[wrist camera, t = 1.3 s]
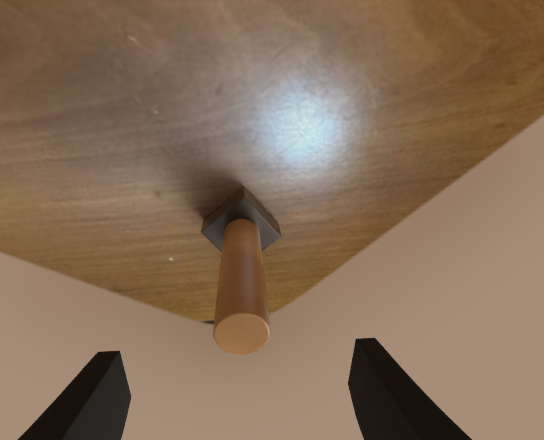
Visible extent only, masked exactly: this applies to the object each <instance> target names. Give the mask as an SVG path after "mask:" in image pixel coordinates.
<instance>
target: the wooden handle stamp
mask: <svg viewBox="0 0 544 440" xmlns="http://www.w3.org/2000/svg"><path fill="white" fill-rule="evenodd" d="M201 233H202V234H203V235H204V236H205V237H206V238H207V239H209V240H210V241H211V242H212V243H213V244H214V245H215V246H216V247H217V248H218V249H219V250H220V251H221V252H222V253H221V262H220V272H219V282H218V291H217V301H216V310H215V320H214V330H213V336H214V340H215V342H216V343H217V345H218V346H219V347H220V348H221V349H223V350H224V351H227V352H229V353H232V354H240V355H241V354H249V353H252V352H255V351H257V350H259V349H260V348H262V347H263V346H264V345H265V344H266V343H267V341H268V339H269V336H270V324H269V314H268V305H267V296H266V287H265V277H264V268H263V259H262V251H263V250H264V249H266V248H267V247H268V246H270V245H271V244H272V243H274V242H275V241H276V240H278V239H279V238H280V237H281V232H280V228H279V224H278V223H277V222H276V221H275V220H274V218H273V217H272V216H271V215H270V214H269V213H268V212H267V211H266V210H265V209H264V208H263V206H262V205H261V204H260V203H259V202H258V201H257V200H256V199H255V198H254V197H253V196H252V194H251V193H250V192H249V191H248V190H247V189H246V188H245V187H243V188H242V189H241V190H240V191H238V192H237V193H236V194H235V195H234V196H232V197H231V198H230V199H229V200H227V201H226V202H225V203H224V204H222V205H221V206H220V207H219V208H217V209H216V210H215V211H214V212H213V213H211V214H210V215H209V216H208V217H206V218H205V219H204V221H203V225H202V229H201Z"/></svg>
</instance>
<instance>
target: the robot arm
mask: <svg viewBox="0 0 544 440" xmlns="http://www.w3.org/2000/svg"><path fill="white" fill-rule="evenodd" d="M348 385H349V390H350V394H351V398H352V403H353V406H354V410H355V414H356V418H357V421H358V424H359V427H360V430H361V432H362V435H363V438H364V440H472V439H471V438H470V437H469V436H468V435H466V434H465V433H464V432H463V431H462V430H461V429H460V428H459V427H458V426H457V425H456V424H455V423H454V422H453V421H452V420H451V419H450V418H449V417H448V416H447V415H446V414H445V413H444V412H443V411H442V410H441V409H440V408H439V407H438V406H437V405H436V404H435V403H434V402H433V401H432V400H431V399H430V398H429V397H428V396H427V395H426V394H425V393H424V392H423V391H422V390H421V388H420V387H419V386H418V385H417V384H416V383H415V382H414V381H413V380H412V379H411V378H410V377H409V376H408V375H407V373H406V372H405V371H404V370H403V369H402V368H401V367H400V366H399V365H398V363H397V362H396V361H395V360H394V359H393V358H392V357H391V355H390V354H389V353H388V352H387V351H386V350H385V349H384V347H383V346H382V345H381V344H380V343H379V342H378V341H377V340H376V339H375V338H363V339H356V341H355V347H354V353H353V358H352V364H351V370H350V376H349V381H348ZM130 400H131V394H130V390H129V386H128V382H127V378H126V374H125V370H124V366H123V363H122V358H121V354H120V351H106V352H98V353H97V354H96V355H95V356H94V357H93V358H92V359H91V360H90V362H89V363H88V364H87V365H86V366H85V367H84V368H83V369H82V371H81V372H80V373H79V374H78V375H77V376H76V377H75V378H74V380H73V381H72V382H71V383H70V384H69V385H68V386H67V387H66V388H65V390H64V391H63V392H62V393H61V394H60V395H59V396H58V397H57V398H56V400H55V401H54V402H53V403H52V404H51V405H50V406H49V407H48V408H47V409H46V410H45V411H44V412H43V414H42V415H41V416H40V417H39V418H38V419H37V420H36V421H35V422H34V423H33V424H32V425H31V427H29V429H28V430H27V431H26V432H25V433H24V434H23V435H22V436H21V437H20V438H19V439H18V440H121V437H122V434H123V430H124V426H125V422H126V418H127V414H128V409H129V405H130Z"/></svg>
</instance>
